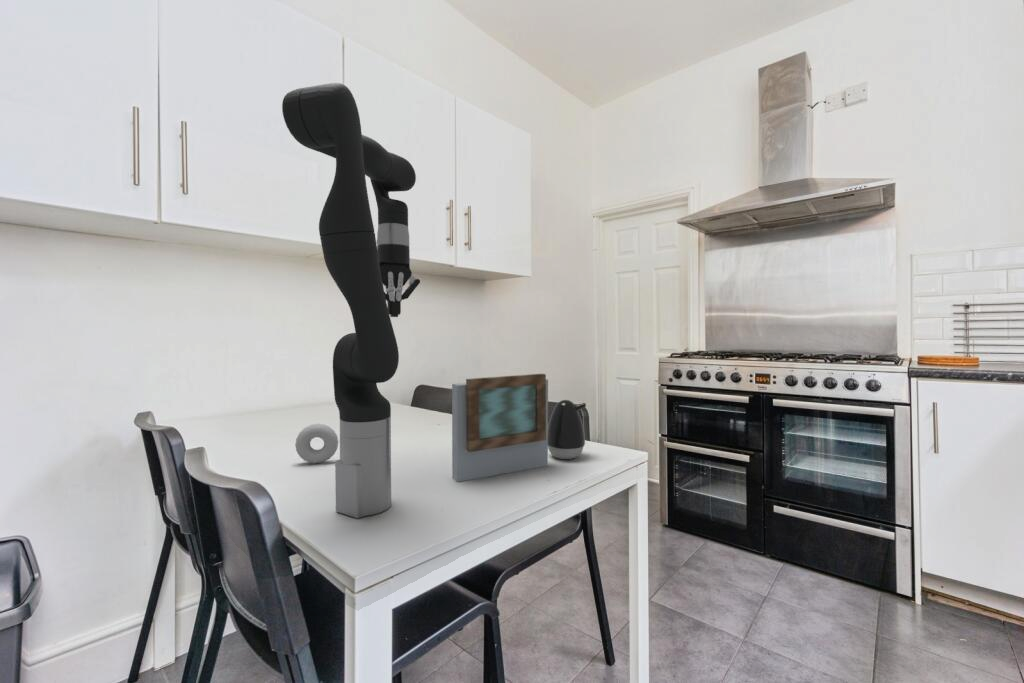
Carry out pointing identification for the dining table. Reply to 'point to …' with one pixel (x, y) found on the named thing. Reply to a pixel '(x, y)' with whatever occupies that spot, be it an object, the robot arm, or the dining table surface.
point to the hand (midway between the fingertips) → (394, 316)
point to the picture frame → (505, 411)
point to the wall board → (490, 459)
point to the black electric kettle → (566, 430)
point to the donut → (311, 454)
